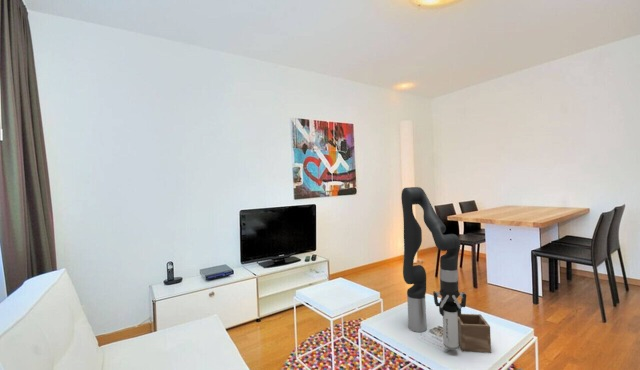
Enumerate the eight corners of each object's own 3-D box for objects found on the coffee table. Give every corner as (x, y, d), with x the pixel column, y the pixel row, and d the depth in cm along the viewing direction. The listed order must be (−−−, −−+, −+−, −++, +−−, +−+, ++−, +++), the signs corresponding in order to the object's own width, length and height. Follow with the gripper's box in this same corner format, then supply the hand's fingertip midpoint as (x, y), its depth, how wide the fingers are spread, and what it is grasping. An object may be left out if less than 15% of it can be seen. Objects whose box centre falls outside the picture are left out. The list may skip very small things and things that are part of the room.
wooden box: (455, 337, 145) (454, 313, 146) (481, 339, 143) (480, 314, 143) (462, 351, 134) (461, 324, 134) (491, 352, 131) (490, 326, 131)
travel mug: (454, 341, 137) (452, 298, 137) (461, 349, 130) (460, 304, 130) (440, 342, 137) (439, 299, 136) (447, 350, 130) (446, 305, 130)
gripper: (463, 276, 135) (464, 312, 135) (430, 275, 138) (431, 311, 138) (468, 281, 128) (469, 320, 128) (433, 281, 130) (435, 318, 131)
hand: (450, 315), depth 133 cm, fingers closed on travel mug, 6 cm apart
